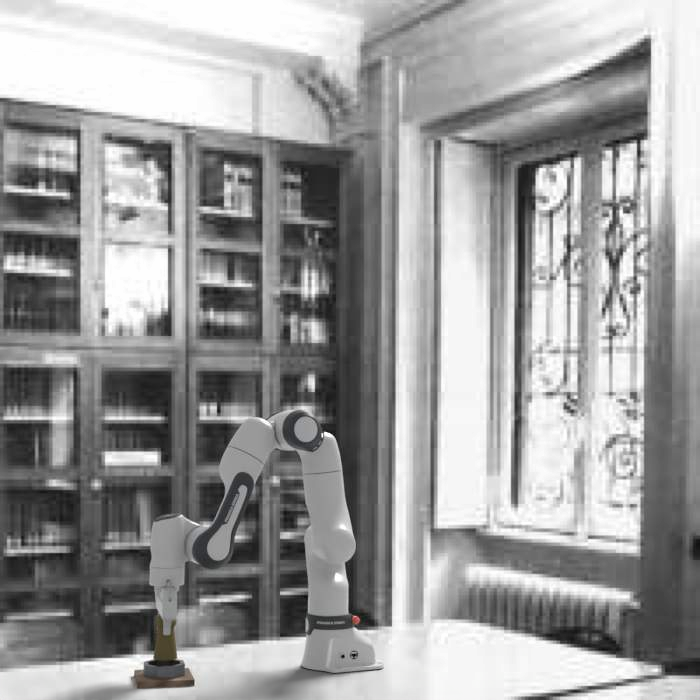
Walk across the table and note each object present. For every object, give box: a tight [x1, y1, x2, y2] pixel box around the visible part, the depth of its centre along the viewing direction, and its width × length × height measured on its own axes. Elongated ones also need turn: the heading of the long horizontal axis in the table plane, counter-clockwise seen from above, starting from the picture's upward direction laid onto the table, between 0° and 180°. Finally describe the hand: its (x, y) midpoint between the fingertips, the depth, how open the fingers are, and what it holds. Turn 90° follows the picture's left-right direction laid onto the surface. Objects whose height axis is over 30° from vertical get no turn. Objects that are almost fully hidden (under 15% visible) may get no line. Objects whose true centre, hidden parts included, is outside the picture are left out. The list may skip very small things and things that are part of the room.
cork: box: [152, 614, 178, 661], centre depth 278 cm, size 6×6×11 cm
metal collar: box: [142, 658, 186, 679], centre depth 278 cm, size 10×10×3 cm
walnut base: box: [133, 667, 195, 689], centre depth 277 cm, size 14×14×2 cm
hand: (165, 632), depth 278 cm, fingers closed on cork, 4 cm apart
